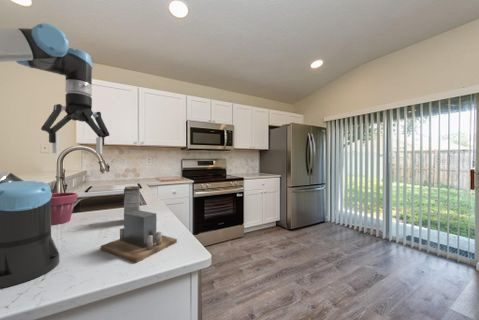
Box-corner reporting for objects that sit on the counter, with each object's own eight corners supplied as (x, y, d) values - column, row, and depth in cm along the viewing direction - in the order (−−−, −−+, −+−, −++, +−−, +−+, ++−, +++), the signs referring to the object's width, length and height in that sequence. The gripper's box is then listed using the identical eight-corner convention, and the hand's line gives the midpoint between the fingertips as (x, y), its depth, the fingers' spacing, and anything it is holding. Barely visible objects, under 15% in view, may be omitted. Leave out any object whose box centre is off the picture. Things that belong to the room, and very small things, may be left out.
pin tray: (136, 262, 59) (136, 244, 59) (100, 249, 67) (100, 233, 67) (176, 242, 73) (176, 227, 73) (142, 233, 81) (142, 220, 81)
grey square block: (143, 248, 65) (143, 217, 65) (124, 242, 70) (124, 213, 70) (156, 242, 70) (156, 213, 70) (137, 237, 74) (137, 209, 74)
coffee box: (125, 219, 99) (125, 186, 99) (139, 217, 102) (139, 185, 102) (123, 225, 91) (123, 189, 91) (139, 223, 93) (139, 188, 93)
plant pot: (73, 215, 104) (73, 191, 104) (80, 221, 95) (80, 194, 95) (33, 222, 93) (33, 194, 93) (38, 229, 84) (38, 199, 84)
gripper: (37, 82, 61) (38, 152, 61) (119, 102, 83) (119, 154, 83) (27, 85, 64) (27, 152, 64) (108, 104, 86) (108, 154, 87)
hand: (79, 153), depth 74 cm, fingers open, 13 cm apart
